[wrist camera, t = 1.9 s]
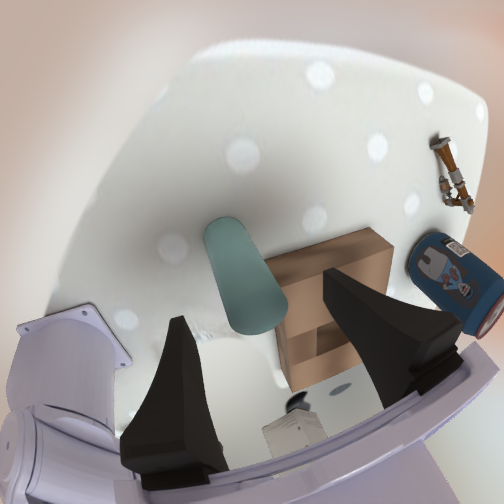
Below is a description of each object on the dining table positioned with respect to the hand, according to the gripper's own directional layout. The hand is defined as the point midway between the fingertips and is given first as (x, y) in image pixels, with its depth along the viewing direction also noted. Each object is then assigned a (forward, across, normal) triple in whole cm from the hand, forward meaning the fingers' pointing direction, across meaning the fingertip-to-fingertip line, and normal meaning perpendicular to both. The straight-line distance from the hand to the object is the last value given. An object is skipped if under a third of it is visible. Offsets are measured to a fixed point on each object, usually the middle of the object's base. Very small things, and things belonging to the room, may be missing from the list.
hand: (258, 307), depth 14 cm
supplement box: (+8, -2, +37) cm, 38 cm away
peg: (+8, 0, 0) cm, 8 cm away
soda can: (+8, -22, +9) cm, 25 cm away
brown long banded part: (+8, -22, -1) cm, 24 cm away
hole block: (+8, -7, +11) cm, 15 cm away
